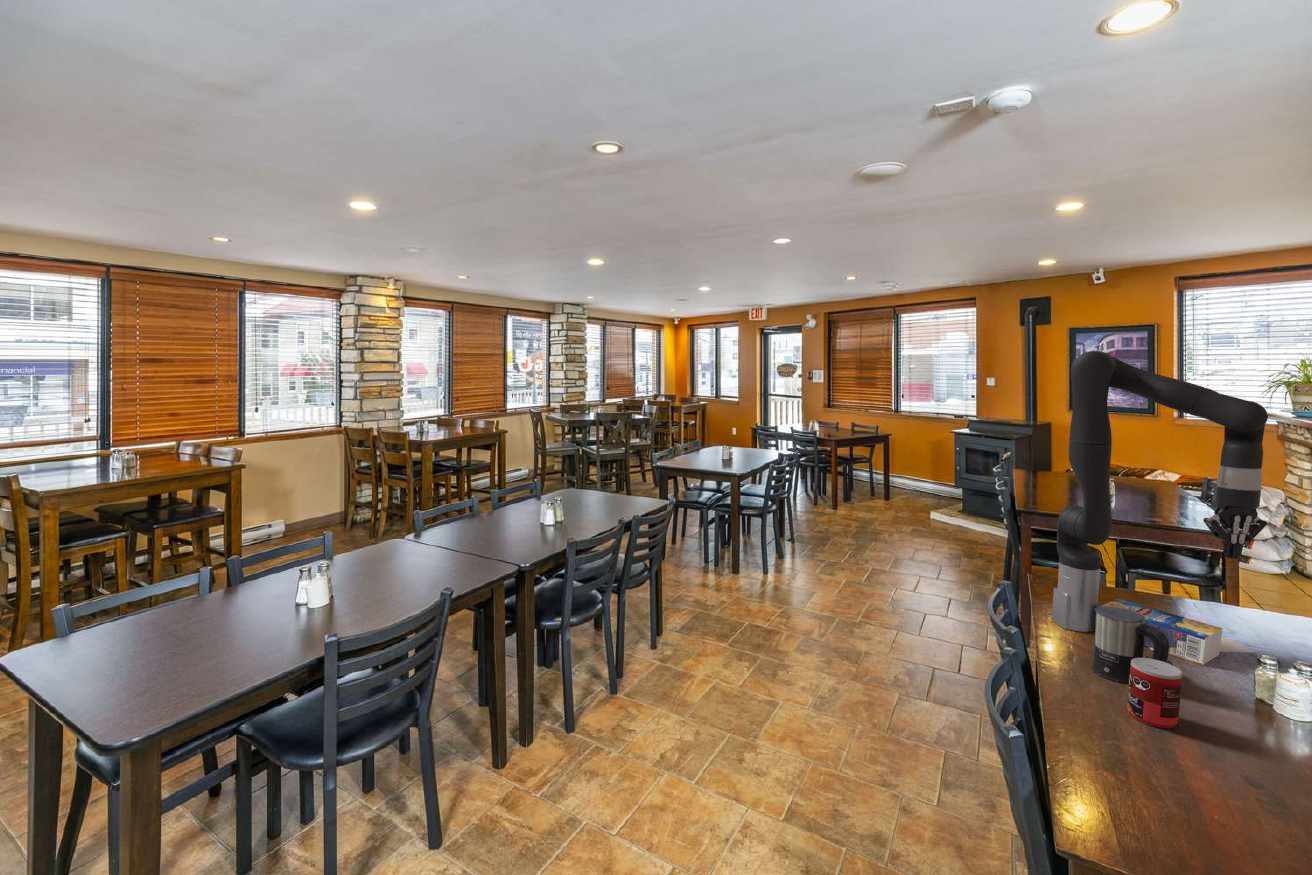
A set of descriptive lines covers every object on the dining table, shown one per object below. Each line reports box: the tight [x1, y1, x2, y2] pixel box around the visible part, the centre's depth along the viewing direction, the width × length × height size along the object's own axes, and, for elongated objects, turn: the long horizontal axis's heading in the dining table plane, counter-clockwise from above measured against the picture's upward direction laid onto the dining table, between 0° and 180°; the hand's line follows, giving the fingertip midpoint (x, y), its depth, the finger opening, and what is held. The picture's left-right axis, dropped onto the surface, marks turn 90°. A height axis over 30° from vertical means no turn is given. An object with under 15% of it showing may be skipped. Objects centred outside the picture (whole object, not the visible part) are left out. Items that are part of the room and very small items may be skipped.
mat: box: [1149, 635, 1255, 654], centre depth 159 cm, size 24×20×1 cm
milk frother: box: [1091, 605, 1175, 684], centre depth 138 cm, size 14×16×15 cm
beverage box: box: [1100, 598, 1223, 666], centre depth 154 cm, size 7×11×22 cm
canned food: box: [1126, 657, 1183, 730], centre depth 120 cm, size 8×8×11 cm
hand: (1231, 557), depth 142 cm, fingers closed
